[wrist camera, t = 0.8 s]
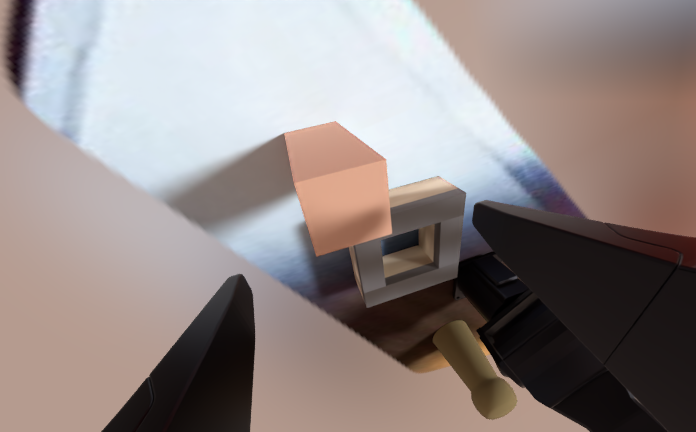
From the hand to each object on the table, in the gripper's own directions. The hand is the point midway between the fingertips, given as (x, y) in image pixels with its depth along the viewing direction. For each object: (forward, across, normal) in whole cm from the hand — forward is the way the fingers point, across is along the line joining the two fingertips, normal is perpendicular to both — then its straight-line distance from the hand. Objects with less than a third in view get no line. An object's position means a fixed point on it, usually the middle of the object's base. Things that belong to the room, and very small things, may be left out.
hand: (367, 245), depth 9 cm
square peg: (+13, 0, 0) cm, 13 cm away
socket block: (+13, -6, +10) cm, 17 cm away
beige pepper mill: (+13, -14, +33) cm, 38 cm away
